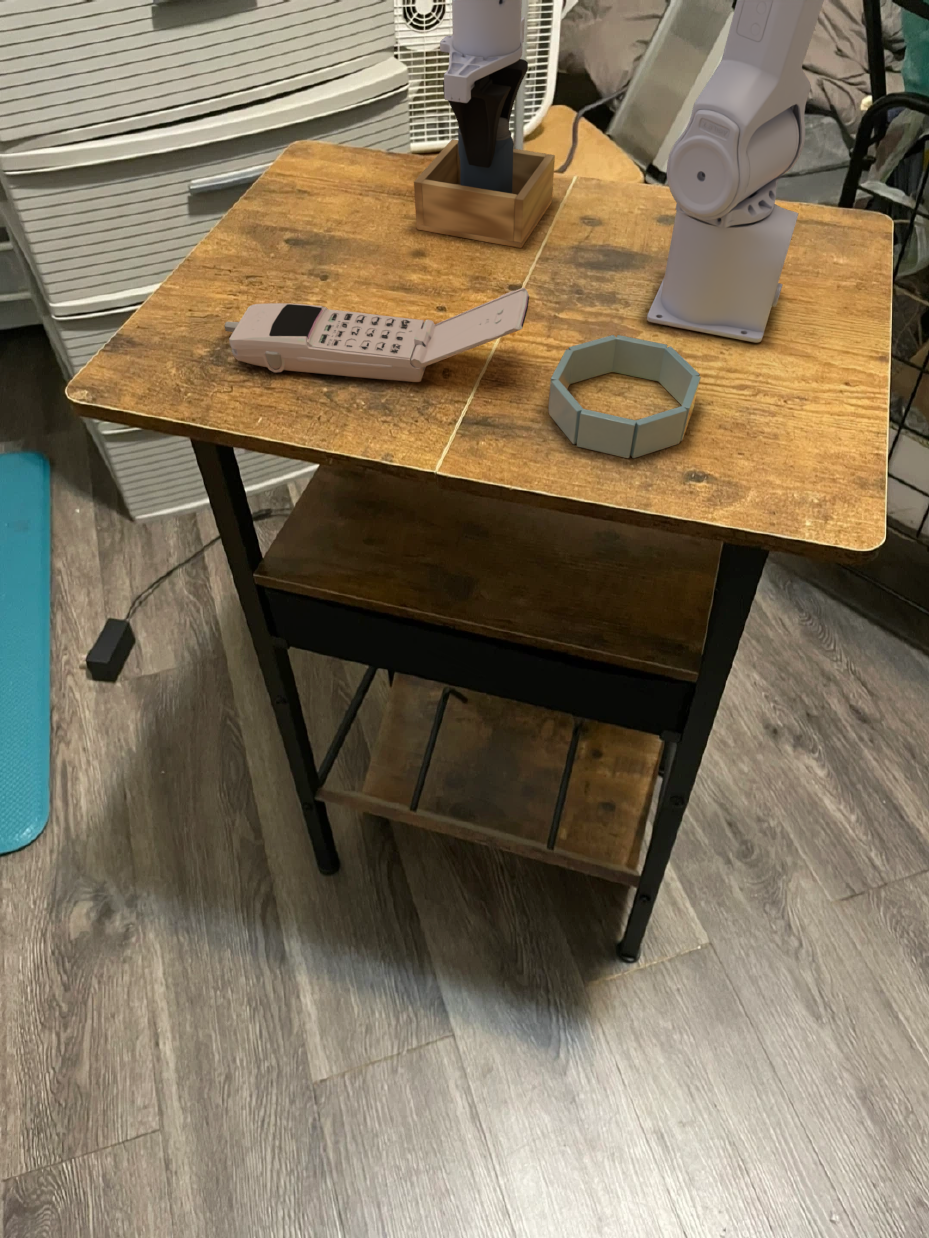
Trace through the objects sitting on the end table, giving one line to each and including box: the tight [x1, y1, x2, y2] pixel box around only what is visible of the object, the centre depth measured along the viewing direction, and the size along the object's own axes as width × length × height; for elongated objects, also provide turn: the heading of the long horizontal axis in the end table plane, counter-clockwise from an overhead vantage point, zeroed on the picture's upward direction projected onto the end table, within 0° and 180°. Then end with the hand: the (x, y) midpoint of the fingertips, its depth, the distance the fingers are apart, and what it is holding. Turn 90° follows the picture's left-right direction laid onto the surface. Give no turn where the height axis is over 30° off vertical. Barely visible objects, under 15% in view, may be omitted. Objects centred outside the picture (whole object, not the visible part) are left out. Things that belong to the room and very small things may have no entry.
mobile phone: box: [224, 287, 530, 383], centre depth 67 cm, size 6×6×25 cm
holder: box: [413, 138, 556, 249], centre depth 82 cm, size 11×10×4 cm
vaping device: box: [457, 117, 515, 194], centre depth 79 cm, size 3×5×12 cm, turn 69°
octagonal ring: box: [547, 334, 701, 459], centre depth 64 cm, size 10×10×3 cm
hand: (485, 157), depth 80 cm, fingers closed on vaping device, 2 cm apart
